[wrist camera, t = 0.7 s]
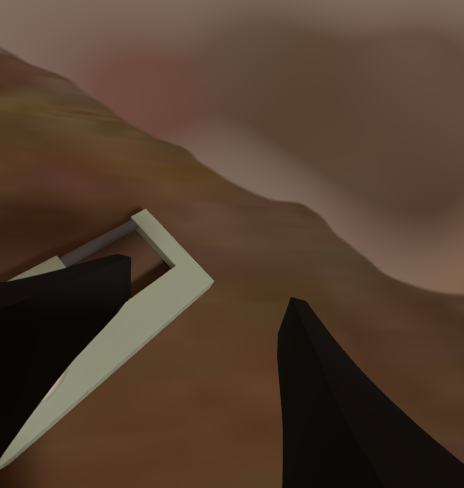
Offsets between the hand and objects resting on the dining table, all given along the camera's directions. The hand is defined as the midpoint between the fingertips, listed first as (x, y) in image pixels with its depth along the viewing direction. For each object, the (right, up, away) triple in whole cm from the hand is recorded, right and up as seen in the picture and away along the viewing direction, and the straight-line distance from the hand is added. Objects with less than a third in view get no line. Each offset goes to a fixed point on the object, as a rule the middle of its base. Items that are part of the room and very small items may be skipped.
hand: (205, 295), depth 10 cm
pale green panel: (-12, -4, +13) cm, 18 cm away
